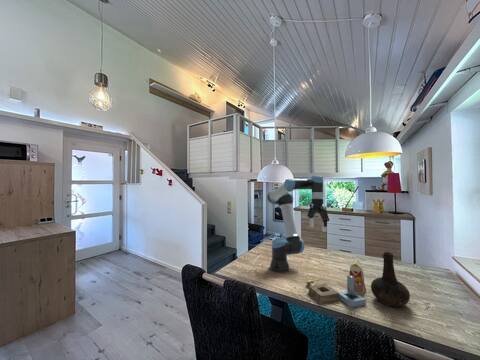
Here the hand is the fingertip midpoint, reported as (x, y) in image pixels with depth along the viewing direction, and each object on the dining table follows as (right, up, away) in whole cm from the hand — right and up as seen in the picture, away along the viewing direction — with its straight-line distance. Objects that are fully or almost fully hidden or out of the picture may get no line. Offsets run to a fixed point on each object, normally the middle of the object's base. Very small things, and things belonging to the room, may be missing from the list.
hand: (317, 229), depth 139 cm
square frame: (+11, -36, -22) cm, 44 cm away
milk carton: (+21, -37, -9) cm, 43 cm away
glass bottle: (+32, -36, -23) cm, 54 cm away
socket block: (-3, -36, -16) cm, 40 cm away
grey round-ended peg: (+11, -36, -22) cm, 44 cm away
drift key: (-5, -36, -7) cm, 37 cm away
